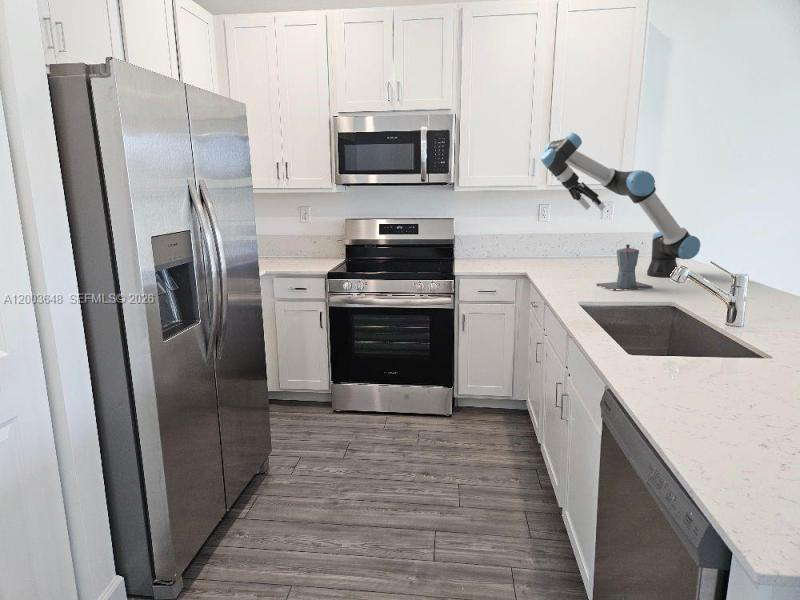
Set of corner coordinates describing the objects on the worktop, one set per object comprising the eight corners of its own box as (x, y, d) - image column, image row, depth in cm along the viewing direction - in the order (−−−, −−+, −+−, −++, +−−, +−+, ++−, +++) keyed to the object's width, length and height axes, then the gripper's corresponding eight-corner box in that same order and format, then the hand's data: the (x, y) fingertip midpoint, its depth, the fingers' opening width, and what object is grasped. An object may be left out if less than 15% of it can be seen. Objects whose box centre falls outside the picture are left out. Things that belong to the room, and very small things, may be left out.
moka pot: (615, 289, 242) (617, 245, 238) (614, 283, 256) (616, 242, 252) (637, 289, 239) (640, 245, 234) (635, 283, 253) (637, 242, 249)
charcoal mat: (633, 282, 261) (633, 280, 260) (652, 288, 246) (652, 285, 246) (596, 285, 257) (596, 283, 257) (613, 290, 243) (613, 288, 243)
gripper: (550, 183, 258) (577, 213, 263) (574, 182, 233) (604, 215, 239) (560, 172, 257) (587, 202, 263) (586, 169, 233) (615, 202, 238)
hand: (595, 208), depth 251 cm, fingers open, 13 cm apart
